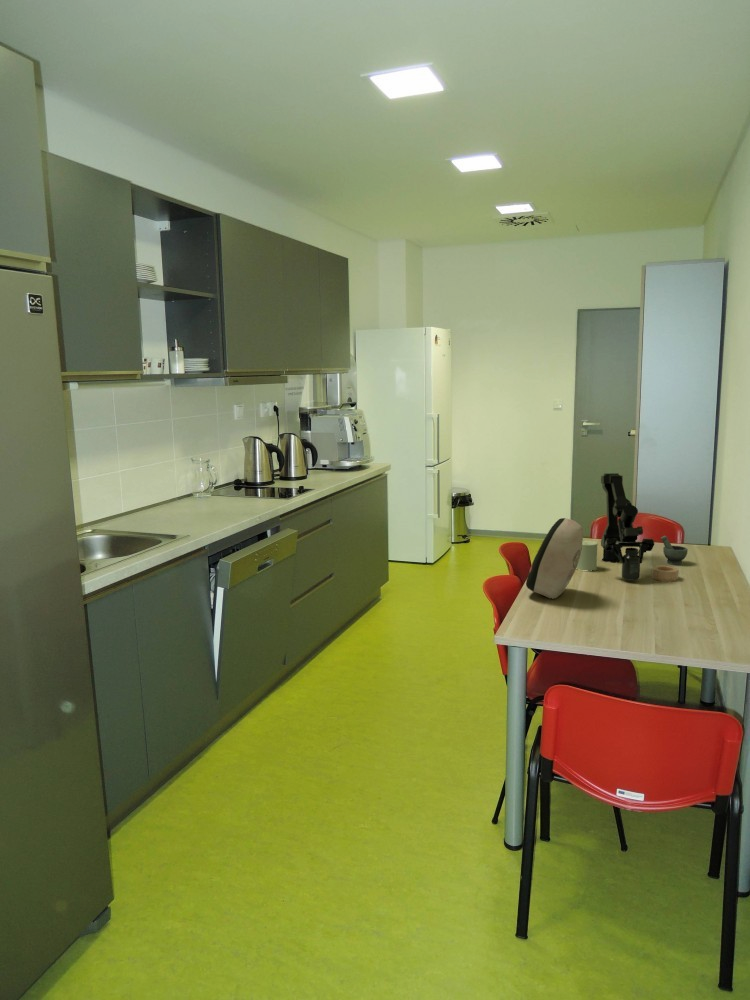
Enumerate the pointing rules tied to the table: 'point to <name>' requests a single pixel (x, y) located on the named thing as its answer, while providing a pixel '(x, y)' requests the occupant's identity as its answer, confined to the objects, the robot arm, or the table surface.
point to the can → (588, 556)
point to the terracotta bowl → (665, 573)
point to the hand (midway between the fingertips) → (632, 562)
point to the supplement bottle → (631, 564)
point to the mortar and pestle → (673, 552)
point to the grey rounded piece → (556, 559)
